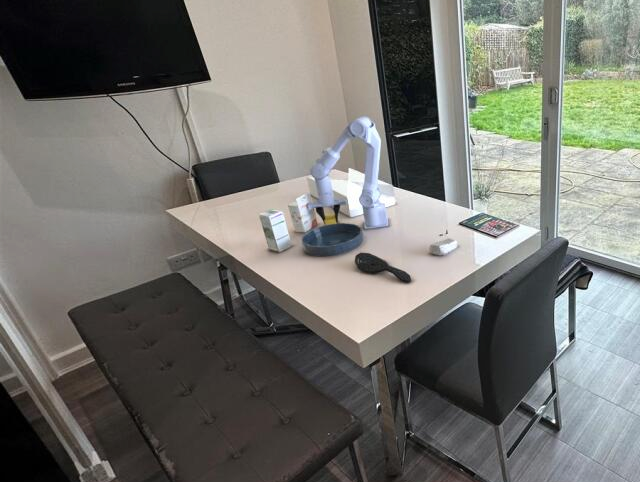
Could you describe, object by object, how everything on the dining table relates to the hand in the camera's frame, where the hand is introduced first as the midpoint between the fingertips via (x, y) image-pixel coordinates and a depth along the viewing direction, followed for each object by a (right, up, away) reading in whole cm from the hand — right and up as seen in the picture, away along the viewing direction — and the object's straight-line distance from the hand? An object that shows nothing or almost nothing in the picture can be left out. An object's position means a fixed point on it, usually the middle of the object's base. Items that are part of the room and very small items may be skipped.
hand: (331, 222), depth 171 cm
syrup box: (-11, -10, -18) cm, 23 cm away
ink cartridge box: (-10, -2, -1) cm, 10 cm away
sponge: (0, -1, +1) cm, 1 cm away
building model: (-4, +12, +30) cm, 33 cm away
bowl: (+8, -8, -15) cm, 19 cm away
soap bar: (+51, -11, -21) cm, 57 cm away
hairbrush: (+33, -17, -35) cm, 51 cm away
